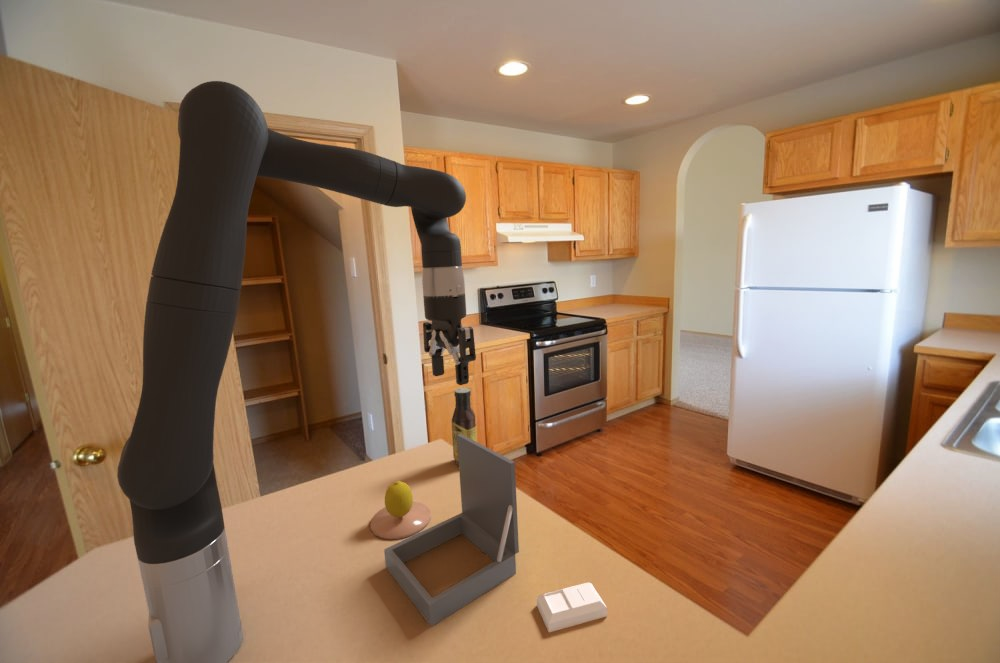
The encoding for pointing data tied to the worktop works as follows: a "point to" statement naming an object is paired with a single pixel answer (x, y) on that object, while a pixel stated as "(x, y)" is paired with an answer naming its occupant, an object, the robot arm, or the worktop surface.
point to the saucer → (400, 522)
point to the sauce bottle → (462, 419)
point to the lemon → (398, 499)
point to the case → (467, 532)
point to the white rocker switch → (570, 606)
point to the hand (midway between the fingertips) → (450, 379)
